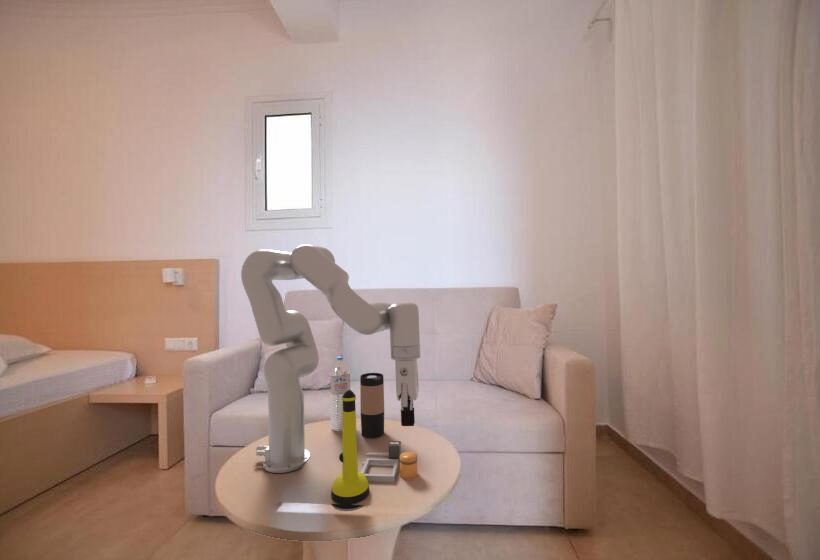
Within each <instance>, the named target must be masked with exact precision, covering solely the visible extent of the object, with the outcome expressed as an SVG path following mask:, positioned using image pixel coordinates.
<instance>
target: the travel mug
mask: <svg viewBox="0 0 820 560" xmlns="http://www.w3.org/2000/svg"><path fill="white" fill-rule="evenodd" d="M359 379H360V383H359V385H360V387H359V389H360V396H359V397H360V428H361V436H362V437H363V438H364V439H373V440H374V439H379V438H381V437H382V436H384V434H385V386H384V385H385V384H384V374H383V373H379V372H367V373H363V374H361V375H360V378H359Z"/></svg>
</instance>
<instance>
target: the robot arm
mask: <svg viewBox="0 0 820 560" xmlns="http://www.w3.org/2000/svg"><path fill="white" fill-rule="evenodd" d="M242 264H243V265H242V267H241V270H240V271H241V272H240V273H241V275H240V276H241V283H242V286H243V288H244V291H245V293H246V296H247V299H248V301H249V303H250V306H251V311H252V314H253V318H254V321H255V325H256V328H257V332H258V334H259V337H260V340H261V341H262V343H263V344H264V345H266V346H269V347H275V346H276V347H278V346H280V345H284V344H286V345H285V346H286V347H285V348H282V349H278V350H277V351H275V352H273V353H271V354H270V355H269V356H268V357H267V359H265V362H264V365H263V373H264V379H265V383H266V389H267V407H268V408H267V409H268V411H267V412H268V416H267V417H268V445H265V444H258V445H257V446H256V450H255V451H256V452H255V455H256V457H257V456H258V457H259V456H260V457H264V459H263V461H262V468H263V469H264V470H265V471H266V472H269V473H274V474H285V473H289V472H294V471H297V470H300V469H302V468H303V467H304V466H305V465H306V464H307V462H308V461H309V460H310V458H311V452H310V451H309V450H308V449H306V448H305V447H306V444H305V441H306V440H305V436H306V435H305V395H304V394H305V393H304V391H303V387H302V385H301V383H300V379H301V378H303V377H306V376H308V375H310V374H312V373H313V372H314V371H315V370H316V369H317V368H318V365H319V359H320V358H319V351H318V349H317V345H316V341H315V338H314V335H313V332H312V329H311V326H310V323H309V321H308V319H307V317H306V316H305V315H304V314H303V313H301V312H300V311H297V310H286V307H285V304H284V301H283V297H282V296H281V292H280V291H279V290H278V289H277V287H276V285H274V283H273V281H275V280H277V281H291V280H292V281H294V280H301V279H305V280H306V281H307V282H309V283H310V284H311V285H312V286H313V287H314V288H315V289H317V291H319V292H320V293H321V294H322V295H324V296H325V298H326V300H327V302H328V304H329V305H330V308H331V310H333V312H334V314H336V316H337V317H339V319H341V320H342V321H343V322H344V323H345V324H346V325H348V326H349V327H350V328H351V329H352V330H354V331H355V332H357V333H359V334H362V335H365V336H368V335H369V336H370V335H374V334H377V333H380V332H383V331H387V330H389V343H390V345H389V346H390V359H391V360H393V361H395V362H394V364H395V369H394V371H395V390H396V391H395V392H396V393H395V394H396V400H397V401H400V423H401V427H414V425H415V423H416V421H415V420H416V419H415V407H414V401H415V402H416V400H418V398H419V397H418V396H419V392H420V389H419V388H420V387H419V372H418V371H419V370H418V359H421V341H420V340H421V339H420V315H419V311H420V310H419V307H418V305H417V304H416V303H414V302H401V303H400V302H399V303H387V302H373V303H368V302H367V301H366V300H365V299H363V298H362V297H361V296H360V295H358V294H357V293H356V292H355V291H354V290H353V289H352V287H351V286H350V285H349V279H350V275H349V274H348V272H347V271H345V270H344V269H343V268H342V267H341V266H339V265H338V264H337V263H336V259H335V256H334V255H333V253H332V252H331V251H330V250H329V249H328V248H325V247H322V246H318V245H312V244H300V245H298V246H297V247H295V248H294V249H293V250H292V251H291V252H289V251H280V250H275V249H274V250H273V249H260V250H256V251H253V252H251V253H250V254H249V255H247V257H246V258H245V260H244V262H243V263H242Z"/></svg>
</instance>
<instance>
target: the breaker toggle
mask: <svg viewBox="0 0 820 560" xmlns="http://www.w3.org/2000/svg"><path fill="white" fill-rule="evenodd" d="M388 453H389V456H388V459H399V464H400V454H402V441H401V440H397V441H396V440H389V443H388Z"/></svg>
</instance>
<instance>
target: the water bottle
mask: <svg viewBox="0 0 820 560" xmlns="http://www.w3.org/2000/svg"><path fill="white" fill-rule="evenodd" d="M336 359H337V361H336V362H335V363H334V364H333V365H332V366H331V368H330V369H329V376H330V378H329V379H330V383H329V384H330V394H329V396H330V397H329V398H330V408H329V409H330V430H331V431H335V432H343V401H342V396H343V395H344V393H345V392H346V391H347V390H351V368H350V366H349V365H348V363H346V362H345V361H343V359H344V357H343V356H337V357H336Z"/></svg>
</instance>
